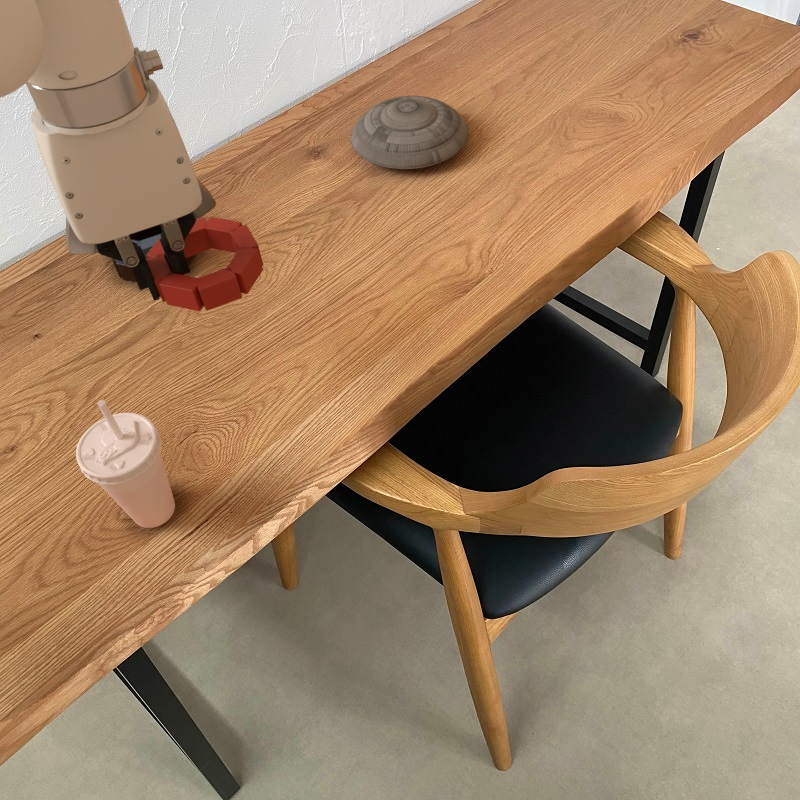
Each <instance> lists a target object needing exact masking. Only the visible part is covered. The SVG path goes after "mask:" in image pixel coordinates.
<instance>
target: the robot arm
mask: <svg viewBox="0 0 800 800" xmlns="http://www.w3.org/2000/svg"><path fill="white" fill-rule="evenodd" d="M163 69H164V65H163V62H162V59H161V56H160V54H159V51H158V49H156V48H155V49H152V50H148V51H147V50H144V49H143V50H140V49H139V47H135V45H134V42H133V39H132V35H131V33H130V30H129V27H128V25H127V22H126V18H125V15H124V12H123V9H122V6H121V3H120V0H0V99H1V98H4V97H6V96H8V95H11V94H13V93H15V92H16V91H18V90H19V89H20V88H22V87H23V86H24V85H25V86H26V87H27V90H28V92H29V93H30V96H31V98H32V100H33V102H34V105H35V108H34V109H33V110H32V112H31V113H30V121H31V126H32V130H33V134H34V139H35V142H36V144H37V148H38V151H39V154H40V156H41V159H42V162H43V165H44V167H45V169H46V172H47V175H48V177H49V179H50V182H51V184H52V187H53V189H54V192H55V194H56V196H57V198H58V199H57V200H59V203H60V205H61V209H62V210H63V213H64V215H65V244H66V246H67V249H68V252H69V253H70V254H71V255H74V256H76V255H96V254H99V255H101V256H104V257H107V258H110V259H112V258H113V259H116V260H119V261H122V262H124V263H125V265H126V266H127V267H131V270H132V272H133V274H134V277H135V279H136V281H137V282H136V284H137V286H138V288H139V291H143V290H145V289H148V290H149V292H150V295H151V297H152V299H153V301H154V302H155V301H158V300H160V298H161V296H160V294H159V291H158V289H157V286H156V284H155V280H154V277H153V275H152V272H151V270H150V267H149V265H148V262H147V260H146V258H145V256H144V253H143V251H142V249H141V246H138V245H137V243H135V242H132V241H131V238H130V236H129V234H132V233H135V232H138V231H141V230H144V229H147V228H150V227H153V226H156V225H159V224H160V225H161V228H162V230H163V232H162V234H161V235H160V236H161V239H159V240H160V242H161V245H162V248H163V250H164V253H165V255H166V258H167V261H168V263H169V266H170V268H171V271H172V273H176V274H181V275H188V274H191V273H192V272H191V269H190V268H191V267H190V265H188V263H187V260H186V257H185V254H184V251H183V249H184V247H185V242H184V241H185V239H186V237H187V236H188V234H189V233H190V231H191V229H192V228H193V226H194V224H195V222H196V220H197V219H200V218H203V217H204V216H206V215H207V214H208V213H209V212H211V211H212V210H213V209H215V208H216V205H217V201H216V200H215V197H214V196H213V194H212V193H211V191H210V190H209V189H208V188H207V187H206V186H205V184H204V183H203V182H202V181H201V180H200V179H199V178H198V177H197V175H196V172H195V170H194V166H193V164H192V161H191V158H190V156H189V153H188V151H187V150H188V149H187V148H186V145H185V143H184V141H183V138H182V136H181V135H182V134H181V133H180V130H179V128H178V126H177V124H176V121H175V119H174V117H173V115H172V113H171V111H170V108H169V106H168V103H167V101H166V99H165V98H164V95H163V94H162V92H161V90H160V89H159V87H158V84H157V83H156V82H155V81H154V80H153V79H152V78H150V76H152V75H154V74H155V72H156V71H161V70H163Z"/></svg>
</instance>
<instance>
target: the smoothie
mask: <svg viewBox="0 0 800 800" xmlns="http://www.w3.org/2000/svg"><path fill="white" fill-rule="evenodd" d="M97 407H98V408H99V410H100V412H101V413H102V415H103V418H101V419H100V420H97V421H96V422H94V423H93V424H91V426H90V427H89V428H87V429H86V431H84V433H83V434H82V435H81V437H80V439H79V441H78V443H77V445H76V449H75V459H76V462H77V465H78V466H79V468H80V471H81V472H82V474H83V476H85V477H86V479H88V480H90V481H92V482H93V483H96V484H98V485H99V486H100V487H101V488H102V489H103V490H104V492H106V493H107V494H108V495H109V497H111V499H112V500H113V501H114V502H115V503H116V504H117V505H118V506H119V507H120V508H121V509H122V510H123V511H124V512H125V514H127V515H128V517H129V518H131V519H132V520H133V522H134V523H135V524H136V525H138V526H139V527H141V528H145V529H152V528H153V529H154V528H157V527H160V526H162V525H164V524H166V522H168V521H169V520H170V519H171V518H172V516H173V515H174V513H175V510H176V502H175V498H174V495H173V492H172V488H171V485H170V482H169V481H170V480H169V477H168V474H167V469H166V467H165V463H164V459H163V456H162V452H161V448H162V438H161V435H160V433H159V431H158V428H156V426H155V424H154V423H153V421H152V420H151V419H149V418H148V417H146V416H145V415H142V414H140V413H135V412H118V413H114V414H113V413H112V412H111V410H110V408H109V407H108V405H107V403H106V401H105V400H104V399H100V400H99V401H97Z"/></svg>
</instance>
